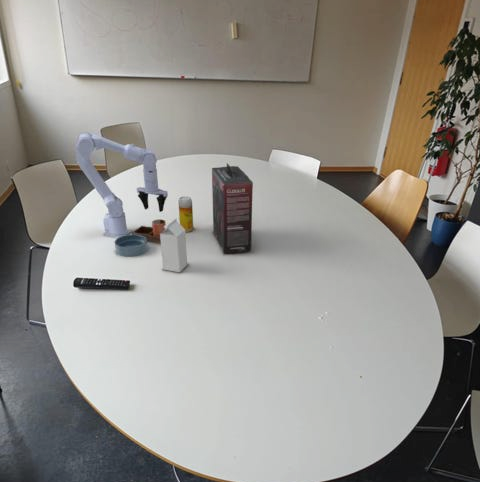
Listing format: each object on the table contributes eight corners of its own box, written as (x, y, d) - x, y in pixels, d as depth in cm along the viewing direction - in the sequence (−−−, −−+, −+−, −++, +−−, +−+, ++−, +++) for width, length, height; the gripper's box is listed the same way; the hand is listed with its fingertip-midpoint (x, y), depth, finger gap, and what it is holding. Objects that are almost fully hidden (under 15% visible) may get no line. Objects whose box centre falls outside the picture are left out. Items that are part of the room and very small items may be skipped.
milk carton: (187, 264, 172) (184, 219, 161) (179, 272, 166) (176, 226, 156) (171, 262, 173) (167, 217, 163) (163, 269, 168) (158, 223, 158)
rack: (132, 239, 191) (131, 232, 189) (142, 232, 197) (141, 225, 196) (164, 245, 186) (163, 238, 184) (173, 238, 193) (172, 231, 191)
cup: (151, 240, 189) (149, 223, 185) (157, 235, 193) (156, 218, 189) (162, 242, 187) (161, 225, 183) (169, 237, 192) (167, 220, 187)
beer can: (191, 232, 198) (189, 201, 190) (178, 231, 199) (176, 200, 191) (195, 227, 203) (193, 196, 195) (182, 226, 204) (180, 195, 196)
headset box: (212, 231, 199) (210, 158, 182) (238, 229, 202) (239, 156, 184) (223, 254, 179) (222, 174, 161) (252, 252, 182) (254, 173, 164)
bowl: (109, 254, 179) (108, 244, 176) (127, 242, 189) (126, 232, 186) (136, 259, 175) (135, 249, 172) (153, 247, 185) (152, 237, 182)
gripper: (170, 179, 188) (172, 209, 196) (141, 175, 193) (144, 204, 200) (161, 183, 183) (164, 214, 190) (132, 179, 187) (136, 209, 194)
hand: (153, 209), depth 195 cm, fingers open, 7 cm apart
